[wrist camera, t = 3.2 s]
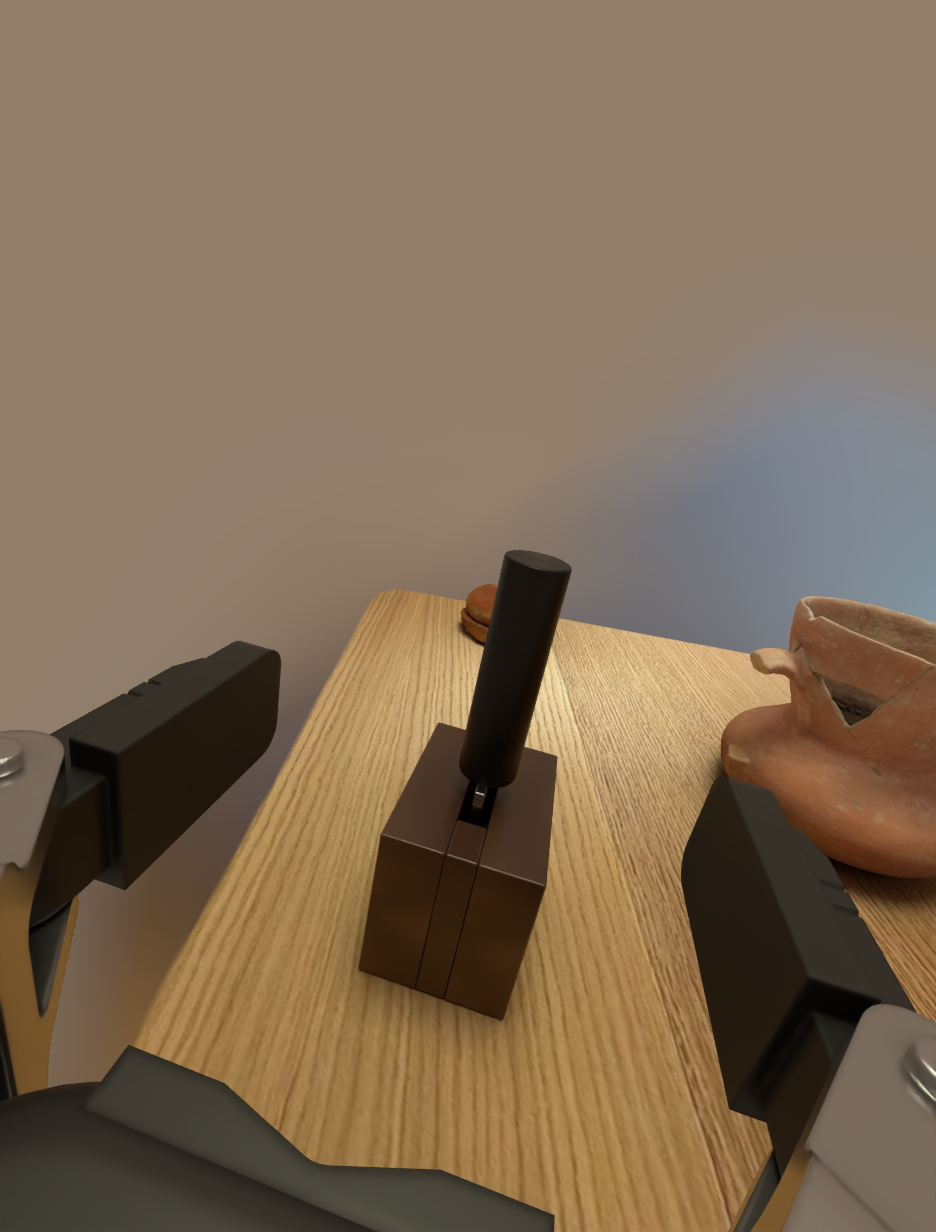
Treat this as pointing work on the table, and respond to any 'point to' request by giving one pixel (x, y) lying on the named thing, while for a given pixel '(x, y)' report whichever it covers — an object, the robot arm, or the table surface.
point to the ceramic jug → (849, 735)
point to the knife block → (460, 878)
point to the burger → (479, 611)
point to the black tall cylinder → (511, 669)
